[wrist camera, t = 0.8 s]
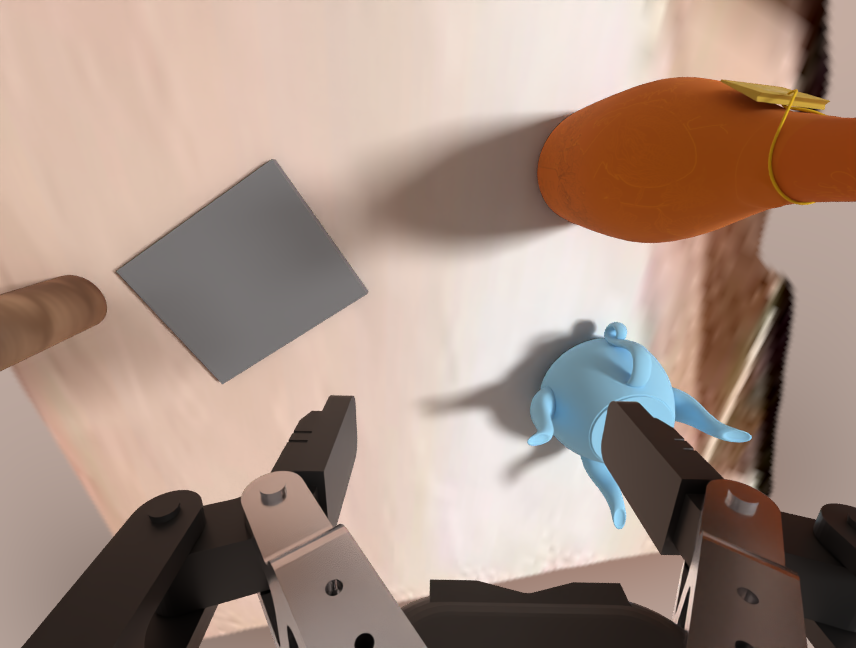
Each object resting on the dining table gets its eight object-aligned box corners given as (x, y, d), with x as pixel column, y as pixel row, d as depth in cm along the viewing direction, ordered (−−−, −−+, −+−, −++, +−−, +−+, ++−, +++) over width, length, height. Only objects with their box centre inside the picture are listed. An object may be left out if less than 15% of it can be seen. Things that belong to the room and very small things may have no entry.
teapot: (611, 295, 40) (673, 333, 31) (685, 388, 45) (760, 446, 35) (500, 384, 44) (526, 444, 34) (580, 463, 48) (622, 535, 38)
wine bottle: (661, 165, 36) (1540, 139, 8) (577, 245, 38) (1034, 443, 10) (594, 78, 33) (1565, -414, 5) (508, 170, 36) (872, 163, 8)
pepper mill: (36, 293, 38) (-180, 363, 24) (75, 264, 37) (-125, 319, 23) (80, 336, 39) (-98, 424, 26) (118, 309, 39) (-44, 385, 25)
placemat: (123, 268, 37) (116, 271, 36) (275, 159, 34) (271, 159, 34) (226, 379, 42) (222, 384, 41) (368, 291, 39) (367, 293, 38)
